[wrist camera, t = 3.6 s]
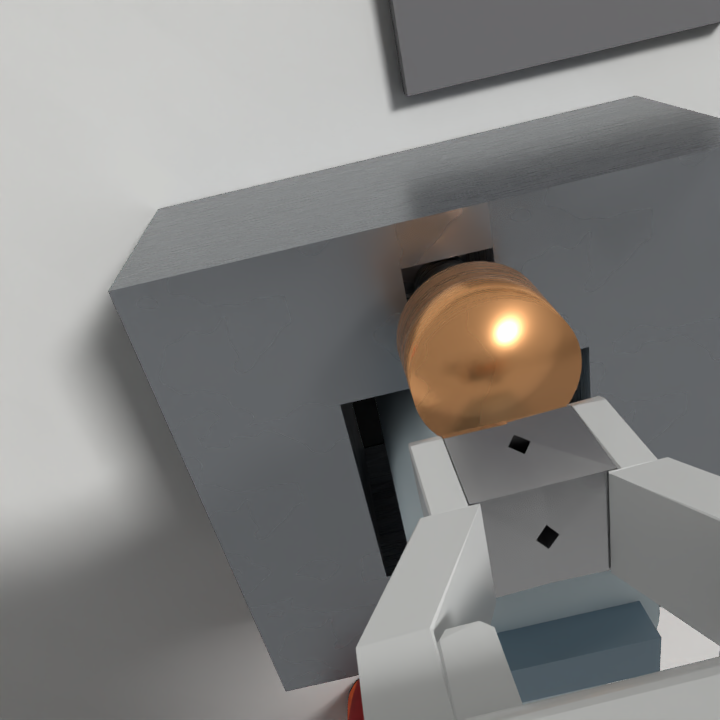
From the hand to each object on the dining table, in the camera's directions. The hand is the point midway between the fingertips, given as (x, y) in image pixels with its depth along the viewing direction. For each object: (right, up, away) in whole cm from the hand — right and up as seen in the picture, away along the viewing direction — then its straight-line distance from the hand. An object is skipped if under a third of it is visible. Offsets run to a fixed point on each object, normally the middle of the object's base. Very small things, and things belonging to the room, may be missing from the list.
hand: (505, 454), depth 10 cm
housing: (0, +1, +12) cm, 12 cm away
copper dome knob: (0, +3, +5) cm, 6 cm away
